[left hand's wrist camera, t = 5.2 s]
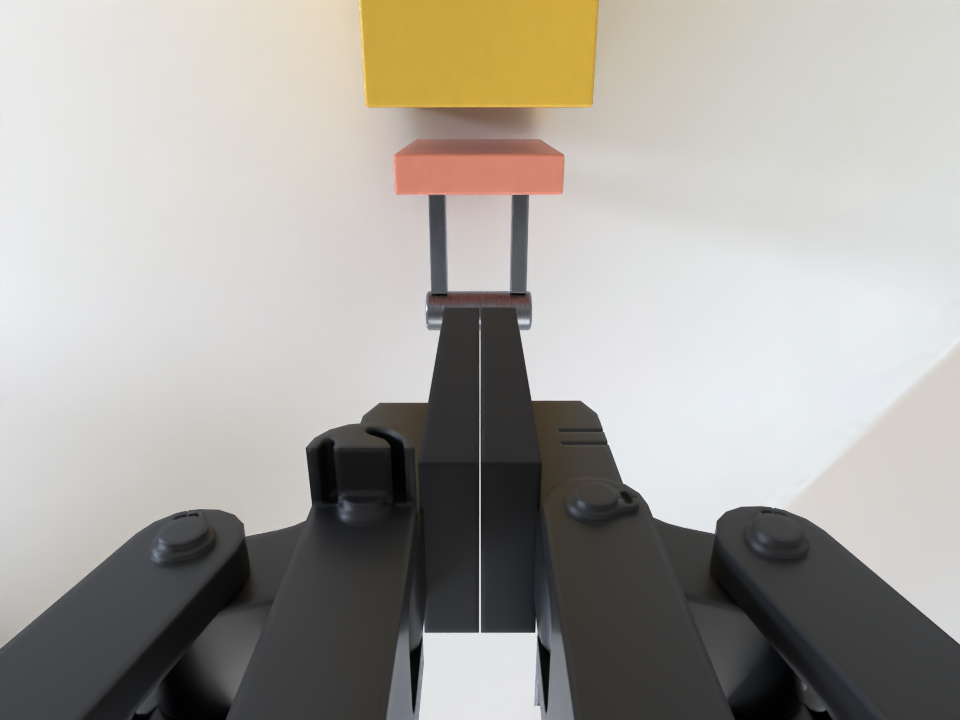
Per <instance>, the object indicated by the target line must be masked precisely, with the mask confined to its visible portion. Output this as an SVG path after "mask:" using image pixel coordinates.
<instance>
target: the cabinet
mask: <svg viewBox="0 0 960 720" xmlns="http://www.w3.org/2000/svg"><path fill="white" fill-rule="evenodd" d="M598 3H599V0H359V8H360V25H361V41H362V58H363V74H364V91H365V104H366V106H367V107H591V106H592V104H593V88H594V71H595V54H596V37H597V20H598Z"/></svg>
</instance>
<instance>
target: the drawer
mask: <svg viewBox="0 0 960 720" xmlns="http://www.w3.org/2000/svg"><path fill="white" fill-rule="evenodd" d="M393 159H394V180H395V192H396V194H398V195H429V226H430V261H431V291H429V292H428V293H427V296H426V324H427V328H428V330H441V325H442V319H443V313H444V307H479V330H481V307H516V313H517V319H518V325H519V330H529V329H530V328H531V322H532V298H531V293H530V292H529V291H526V284H527V247H528V210H529V195H560V194H562V192H563V177H564V155H563V154H562V153H560V152H559V151H557V150H556V149H554V148H552V147H551V146H549V145H548V144H546V143H545V142H543V141H542V140H540V139H517V140H416V141H414V142H413V143H411V144H410V145H408V146H407V147H405V148H404V149H402V150H401V151H399V152H398V153H396V154H395V155H394V157H393ZM446 195H512V199H511V257H510V291H448V274H447V221H446Z"/></svg>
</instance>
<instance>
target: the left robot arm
mask: <svg viewBox="0 0 960 720" xmlns="http://www.w3.org/2000/svg"><path fill="white" fill-rule="evenodd" d="M306 454H307V463H308V471H309V480H310V489H311V498H312V507H311V510H310V512H309V515H308V517H307V520H306V521H304V522H302V523H299V524H297V525H295V526H292V527H288V528H284V529H281V530H277V531H272V532H267V533H262V534H257V535H252V536H247V537H245V530H244V524H243V523H242V522H241V521H240V520H239V519H238V518H237V517H236V516H235V515H233V514H230V513H227V512H224V511H221V510H206V509H198V510H189V511H187V512H186V511H184V512H180V513H176V514H173V515H171V516H169V517H166V518H163V519H161V520H158V521H156V522H154V523H152V524H151V525H149V526H148V527H146V528H144V529H143V530H141V531H140V532H138V533H137V534H135V535H134V536H133V537H132V538H131V539H130V540H128V541H127V542H126V543H125V544H124V545H122V546H121V547H120V548H119V549H118V550H117V551H115V552H114V553H113V554H112V555H111V556H110V557H108V558H107V559H106V560H105V561H104V562H102V563H101V564H100V565H99V566H98V567H97V568H95V569H94V570H93V571H92V572H91V573H89V574H88V575H87V576H86V577H85V578H84V579H82V580H81V581H80V582H79V583H78V584H77V585H75V586H74V587H73V588H72V589H71V590H69V591H68V592H67V593H66V594H65V595H64V596H62V597H61V598H60V599H59V600H58V601H56V602H55V603H54V604H53V605H52V606H51V607H49V608H48V609H47V610H46V611H45V612H44V613H42V614H41V615H40V616H39V617H38V618H36V619H35V620H34V621H33V622H32V623H31V624H29V625H28V626H27V627H26V628H25V629H23V630H22V631H21V632H20V633H19V634H18V635H16V636H15V637H14V638H13V639H12V640H11V641H9V642H8V643H7V644H6V645H5V646H3V647H2V648H1V649H0V720H418V719H419V708H420V697H421V687H422V676H423V665H424V659H423V636H422V634H423V624H424V626H425V633H479V307H444V313H443V319H442V325H441V331H440V337H439V343H438V348H437V354H436V360H435V366H434V372H433V378H432V384H431V389H430V395H429V401H428V403H379V404H378V405H376V406H375V407H374V408H373V409H371V410H370V411H369V412H368V413H366V414H365V415H364V416H363V418H362V420H361V423H360V424H350V425H345V426H342V427H338V428H335V429H331V430H328V431H327V432H325V433H323V434H321V435H319V436H317V437H315V438H314V439H313V440H312V442H311V443H310V444H309V445H308V446H307V447H306ZM536 621H537V630H538V636H537V659H536V683H535V706H540V707H541V718H542V720H960V644H959V643H957V642H956V641H955V640H954V639H953V638H951V637H950V636H949V635H948V634H947V633H945V632H944V631H943V630H942V629H941V628H940V627H938V626H937V625H936V624H935V623H934V622H932V621H931V620H930V619H929V618H928V617H926V616H925V615H924V614H923V613H922V612H920V611H919V610H918V609H917V608H916V607H915V606H913V605H912V604H911V603H910V602H909V601H907V600H906V599H905V598H904V597H903V596H901V595H900V594H899V593H898V592H897V591H895V590H894V589H893V588H892V587H891V586H890V585H888V584H887V583H886V582H885V581H884V580H882V579H881V578H880V577H879V576H878V575H876V574H875V573H874V572H873V571H872V570H870V569H869V568H868V567H867V566H866V565H865V564H863V563H862V562H861V561H860V560H859V559H857V558H856V557H855V556H854V555H853V554H852V553H850V552H849V551H848V550H847V549H846V548H844V547H843V546H842V545H841V544H840V543H838V542H837V541H836V540H835V539H834V538H833V537H831V536H830V535H829V534H828V533H827V532H825V531H824V530H823V529H821V528H819V527H818V526H816V525H815V524H813V523H812V522H810V521H809V520H807V519H805V518H802V517H800V516H797V515H795V514H792V513H790V512H788V511H785V510H781V509H777V508H772V507H763V506H755V507H740V508H736V509H733V510H730V511H727V512H725V513H724V514H723V515H722V516H721V517H720V518H719V519H718V521H717V524H716V530H715V534H712V533H707V532H702V531H697V530H692V529H687V528H683V527H679V526H675V525H671V524H668V523H665V522H663V521H660V520H658V519H656V518H653V516H652V514H651V511H650V509H649V506H648V504H647V503H646V502H645V500H644V499H643V498H642V496H641V495H640V494H639V493H638V492H636V491H635V490H633V489H632V488H630V487H628V486H627V485H625V484H623V482H622V480H621V477H620V474H619V472H618V469H617V466H616V463H615V461H614V458H613V455H612V453H611V450H610V447H609V445H607V439H606V437H605V434H604V432H603V429H602V426H601V423H600V420H599V418H598V415H597V413H595V412H594V411H593V410H591V409H590V408H589V407H588V406H586V405H585V404H584V403H583V402H581V401H531V395H530V389H529V384H528V378H527V372H526V366H525V360H524V354H523V348H522V343H521V337H520V331H519V325H518V319H517V313H516V307H481V633H535V626H536Z"/></svg>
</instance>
